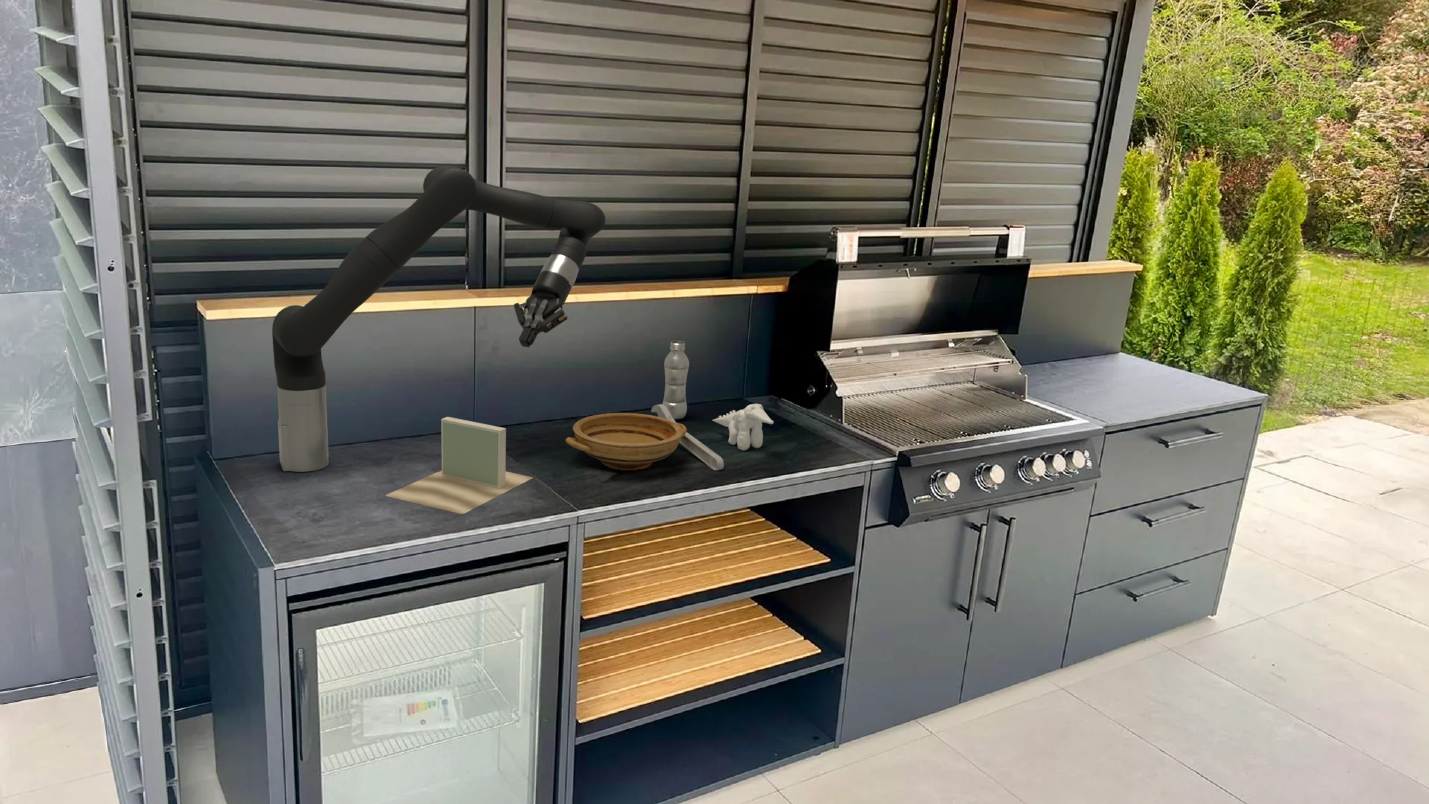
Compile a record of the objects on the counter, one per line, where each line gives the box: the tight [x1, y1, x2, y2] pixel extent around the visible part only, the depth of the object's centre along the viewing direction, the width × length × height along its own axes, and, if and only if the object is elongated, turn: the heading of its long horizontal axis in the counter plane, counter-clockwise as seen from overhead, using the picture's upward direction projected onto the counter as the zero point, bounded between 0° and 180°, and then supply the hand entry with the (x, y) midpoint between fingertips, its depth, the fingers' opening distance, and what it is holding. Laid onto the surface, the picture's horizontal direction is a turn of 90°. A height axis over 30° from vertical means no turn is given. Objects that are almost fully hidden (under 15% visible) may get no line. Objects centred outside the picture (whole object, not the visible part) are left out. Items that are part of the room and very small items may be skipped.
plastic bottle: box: [662, 340, 690, 420], centre depth 266 cm, size 6×7×20 cm
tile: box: [440, 416, 507, 489], centre depth 210 cm, size 14×2×12 cm, turn 67°
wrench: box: [650, 403, 725, 471], centre depth 242 cm, size 8×2×30 cm
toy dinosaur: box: [712, 403, 774, 451], centre depth 250 cm, size 7×24×11 cm, turn 35°
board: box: [384, 469, 534, 515], centre depth 208 cm, size 24×18×2 cm
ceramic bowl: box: [565, 412, 688, 471], centre depth 232 cm, size 30×24×8 cm
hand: (524, 344), depth 221 cm, fingers closed
